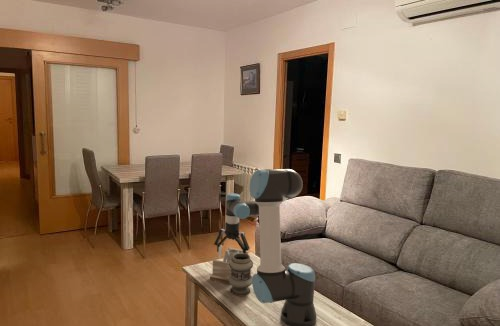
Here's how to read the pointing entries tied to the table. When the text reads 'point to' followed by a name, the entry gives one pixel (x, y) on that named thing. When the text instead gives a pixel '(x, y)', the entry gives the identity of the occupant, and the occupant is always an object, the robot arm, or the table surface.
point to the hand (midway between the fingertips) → (231, 259)
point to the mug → (229, 254)
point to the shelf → (222, 270)
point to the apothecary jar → (240, 274)
